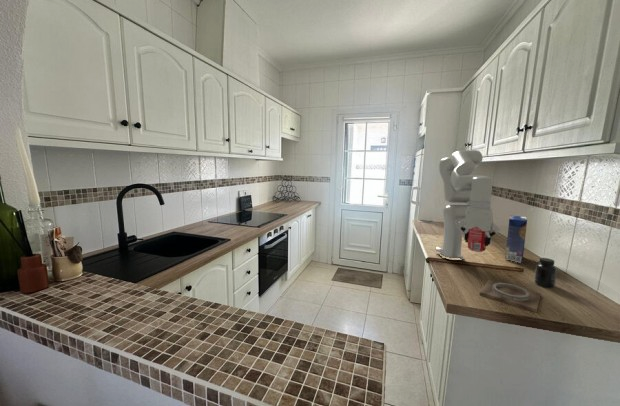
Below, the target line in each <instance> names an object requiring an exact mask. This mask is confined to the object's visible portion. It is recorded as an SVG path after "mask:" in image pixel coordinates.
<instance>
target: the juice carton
mask: <svg viewBox="0 0 620 406" xmlns="http://www.w3.org/2000/svg"><path fill="white" fill-rule="evenodd" d="M527 225H528V217H527V216H523V215H522V216H521V215H520V216H519V215H509V221H508V229H507V240H506V248H505V259H506V260H505V259H504V260H505V261H507V260H511V261H510V262H512V261H515V262H514V263H517V262H518V264H523V261H524V259H523V258H524V251H525V245H526V244H525V243H526V233H527Z"/></svg>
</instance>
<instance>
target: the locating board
mask: <svg viewBox="0 0 620 406" xmlns="http://www.w3.org/2000/svg"><path fill="white" fill-rule="evenodd" d="M479 295H480V296H483V297H485V298H486V297H487V298H489V299H492V300H495V301H498V302H502V303H504V304H508V305H512V306H514V307H517V308H520V309H525V310H528V311H532V312H534V313H537V311H538V310H537V309H538V306H539V303H540V300H541V296H542V293H541V292H537V291H533V290H529V289H526V288H523V287H521V286H519V285H517V284H512V283H507V282H499V281H496V280H492V279H488V281H487V282H486V283H485V285H484V286H483V287H482V289H481V290H480V292H479Z"/></svg>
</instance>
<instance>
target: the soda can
mask: <svg viewBox="0 0 620 406" xmlns="http://www.w3.org/2000/svg"><path fill="white" fill-rule="evenodd" d="M475 226H476V225H475ZM486 237H487V235H486V232H483V231H481V229H480V228H478V227H473V228H471V229H469V231H468V242H467V248H468V249H469V251H471V252H475V253H482V252H485V251H486V249H487V246H485V238H486Z"/></svg>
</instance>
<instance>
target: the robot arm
mask: <svg viewBox="0 0 620 406" xmlns="http://www.w3.org/2000/svg"><path fill="white" fill-rule="evenodd" d="M482 162H483V153H482V152H481V151H480V150H477V149H474V150H473V149H469V150H468V149H467V150H457V151H455V152H453V153H452V154H451V156H448V157H444V158H442V159H440V160H439V163H438V169H439V174H440V176H441V178H442V183H443V190H444V191H443V192H444V199H445V201H446V203H449V204H447V205H446V206H444V208H443V210H442V213H443V216H442V217H443V237H442V238H443V240H442V241H443V243H442V247H438V246H436V247H435V252H440V253H439V254H441V255H443V256H445V257H449V258H460V259H463V258H464V255H462V247H463V245H462V244H463V242H462V241H463V234H464V241H465V243H468V231H469V229H471V228H473V227H478V228H480V229H481V231H483V232H486V235H487V237H486V238H485V246H486V247H488V246H489V245H491V239H492V237H493V236H495V235H497V233H499V232H501V228H500V227H498V226H497V225H496V224H495V223H494V218H493V217H494V216H493V214H494V213H493V209H492V208H491V203H492V192H493V190H492V189H493V182H494V181H493V178H492V177H490V176H486V175H484V174H483V175H479V174H478V175H474V174H473V173H474V172H475V170H476V168H478V167H479V166H480V165H481V164H482ZM475 225H476V226H475ZM492 230H494V231H492ZM491 231H492V232H491ZM463 260H464V259H463Z"/></svg>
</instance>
